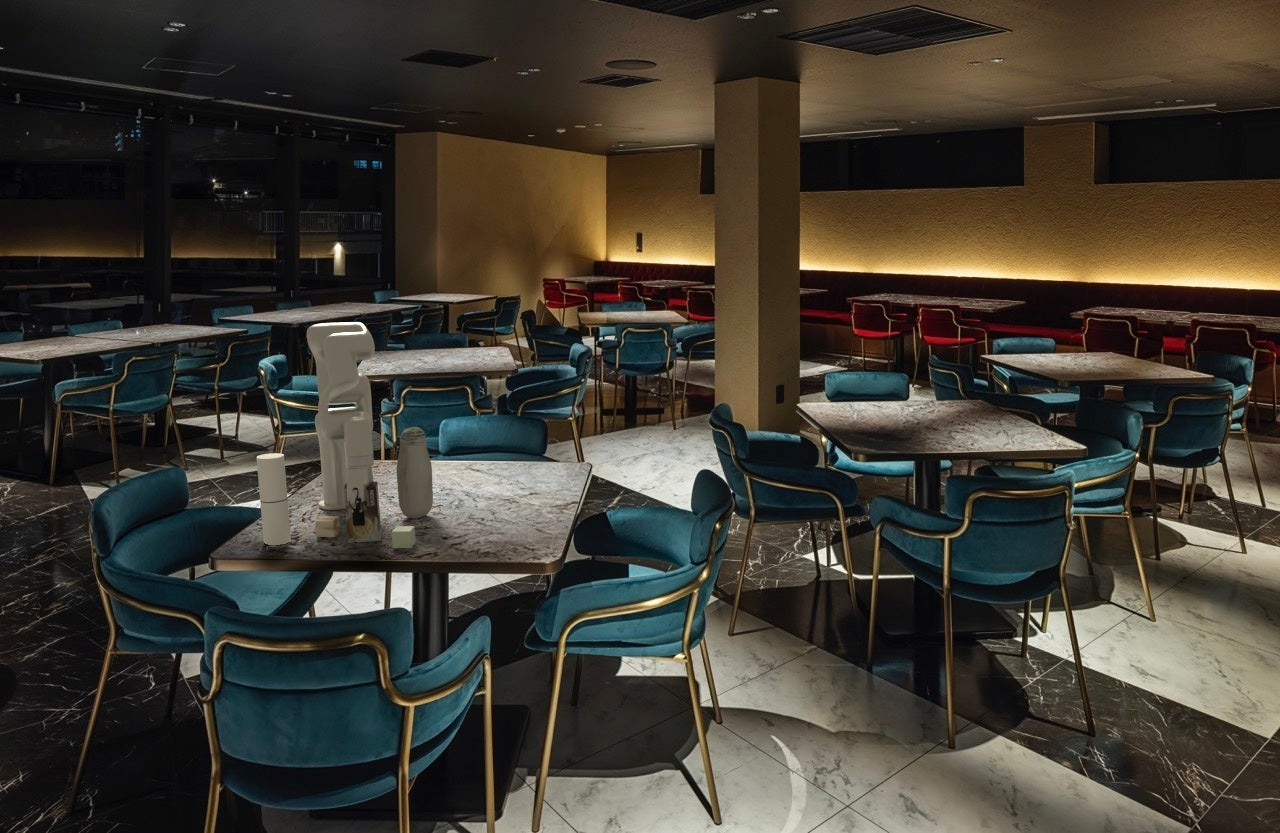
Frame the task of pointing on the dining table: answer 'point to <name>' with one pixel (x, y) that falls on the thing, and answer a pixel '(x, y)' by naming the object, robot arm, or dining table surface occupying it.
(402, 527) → the sage block
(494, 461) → the dining table surface
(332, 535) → the birch block
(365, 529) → the coffee box
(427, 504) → the grey bottle
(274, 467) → the cylindrical container
